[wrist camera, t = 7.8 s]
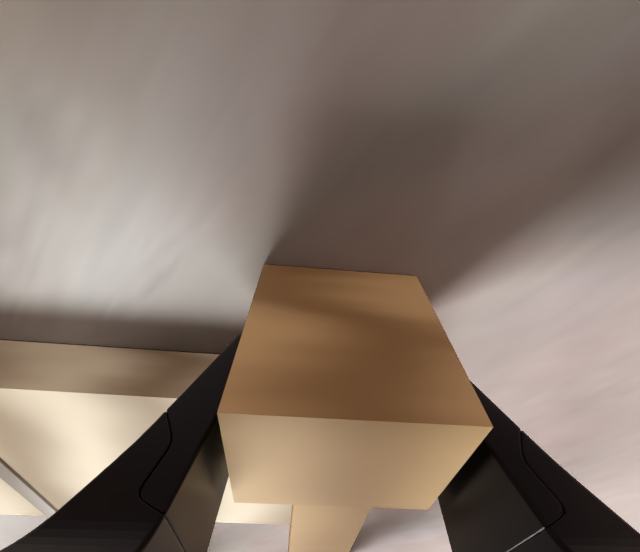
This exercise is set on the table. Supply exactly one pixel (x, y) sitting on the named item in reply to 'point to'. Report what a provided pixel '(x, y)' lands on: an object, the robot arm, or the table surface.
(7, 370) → the ash plank
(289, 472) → the marking gauge
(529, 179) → the table surface
